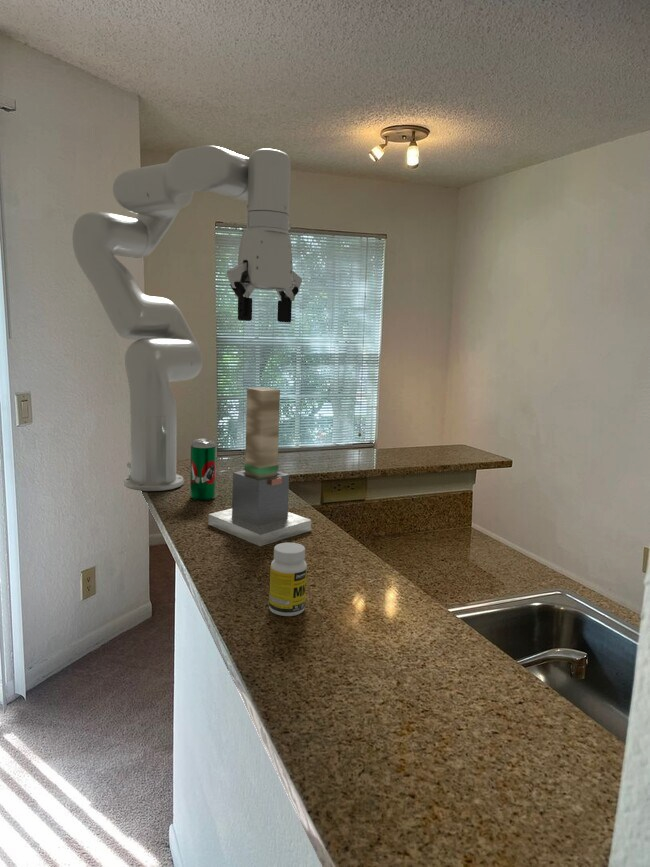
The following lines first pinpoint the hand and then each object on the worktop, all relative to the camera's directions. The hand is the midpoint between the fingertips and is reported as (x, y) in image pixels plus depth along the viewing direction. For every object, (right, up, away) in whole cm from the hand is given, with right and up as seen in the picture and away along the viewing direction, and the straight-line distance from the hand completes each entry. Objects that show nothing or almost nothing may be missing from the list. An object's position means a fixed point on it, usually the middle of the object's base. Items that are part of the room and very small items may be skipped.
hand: (265, 321), depth 115 cm
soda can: (-14, -34, +12) cm, 39 cm away
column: (0, -29, -5) cm, 29 cm away
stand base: (-1, -38, -4) cm, 38 cm away
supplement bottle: (+6, -44, -34) cm, 56 cm away
